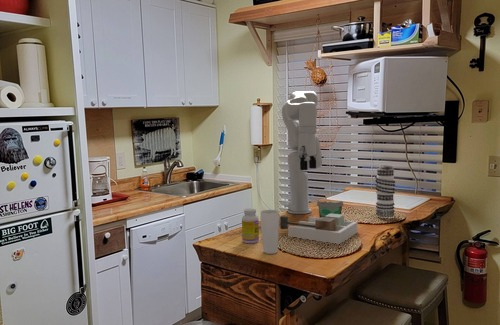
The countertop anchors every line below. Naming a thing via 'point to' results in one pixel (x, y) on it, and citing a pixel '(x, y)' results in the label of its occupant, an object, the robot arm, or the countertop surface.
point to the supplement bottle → (250, 226)
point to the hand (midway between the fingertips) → (308, 169)
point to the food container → (329, 208)
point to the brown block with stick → (320, 224)
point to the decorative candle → (385, 191)
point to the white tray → (324, 231)
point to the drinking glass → (270, 230)
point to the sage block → (337, 218)
